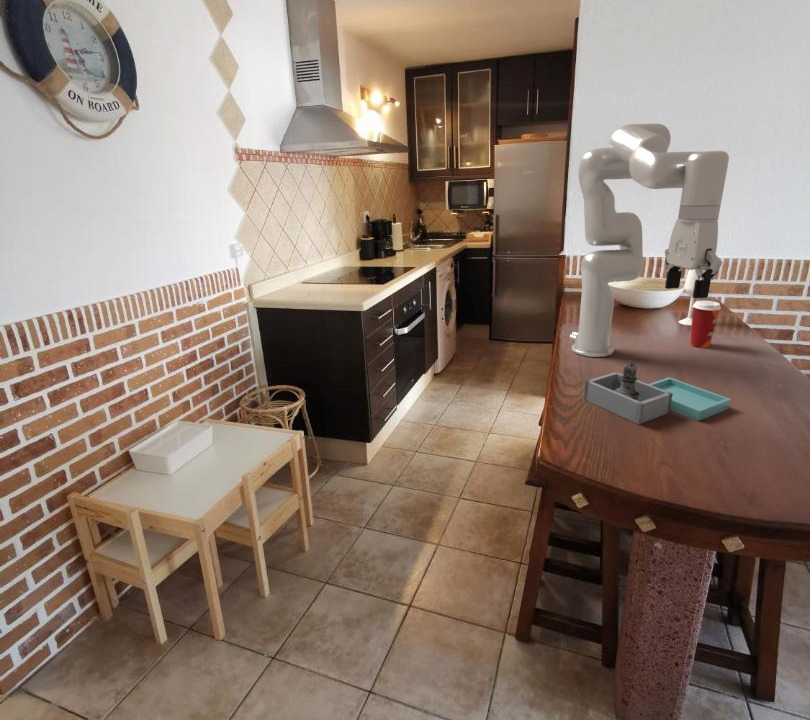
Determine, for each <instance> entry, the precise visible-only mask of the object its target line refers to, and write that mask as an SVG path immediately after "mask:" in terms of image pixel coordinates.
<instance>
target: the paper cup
mask: <svg viewBox="0 0 810 720" xmlns="http://www.w3.org/2000/svg"><path fill="white" fill-rule="evenodd" d="M721 309H722V307H721V304H720V303H719V302H718V301H713V300H696V301H694V305H693V311H692V317H691V318H692V325H691V329H690V338H689V345H690V346H691V347H693V348H699V349H707V348H708V349H709V347H711V343H712V339H713V336H714V332H715V329H716V328H715V327H716V324H717V320H718V316H719V313H720V310H721Z"/></svg>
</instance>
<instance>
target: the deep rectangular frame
mask: <svg viewBox="0 0 810 720" xmlns="http://www.w3.org/2000/svg"><path fill="white" fill-rule="evenodd" d="M621 376H623V373H621V372H617V371H614V372H611V373H608V374H604V375H601V376H597V377H594V378H591V379H588V380H585V384H584V385H585V386H584V394H583V395H584V396H583V400H584V401H586V402H589V403H591V404H593V405H595V404H596V405H595V406H598V407H600V408H602V409H604V410H606V411H608V412H611V413H612V414H615V415H617V416H619V417H621V418H623V419H626V420H628V421H629V422H633V423H634V424H635V425H640V424H644V423H645V422H648V421H651V420H654V419H656V418H657V419H658V418H659V417H662V416H664V415H668V414H670V411H671V410H670V407H671V401H672V395H673V393H670V392H667V391H665V390H662V389H660V388H657V387H654V386H652V385H649V384H650V383H647V382H644V381H641V380H638V379H637V380H636V381H635V390H637V391H638V392H639V393H640V396H639V397H638V399H637V400H634V399H632V398H630V397H627V396H625V395H623V394H620V393H618V392H615V391H614V390H615V389H617V388H620V387H621V382H622V379H621Z"/></svg>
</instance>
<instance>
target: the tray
mask: <svg viewBox="0 0 810 720" xmlns="http://www.w3.org/2000/svg"><path fill="white" fill-rule="evenodd" d="M648 384H649V385H652V386H654V387H657V388H660V389H662V390H665V391H667V392H670V393H673V395H672V401H671V407H670V411H672V412H675V413H678V414H680V415H682V416H684V417H687V418H690V419H691V420H693V421H697V422H700V421H701V420H705V419H707V418H709V417H711V416H715V415H717V414H719V413H721V412H724V411H727V410H729V409H730V407H731V406H730V405H731V402H732V399H731V398H729V397H726V396H723V395H720V394H718V393H715V392H713V391H709V390H706V389H703V388H700V387H698V386H696V385H692V384H689V383H687V382H683V381H681V380H678V379H675V378H672V377H666V378H663V379H660V380H656V381H654V382H651V383H648Z"/></svg>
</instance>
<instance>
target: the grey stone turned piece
mask: <svg viewBox="0 0 810 720" xmlns="http://www.w3.org/2000/svg"><path fill="white" fill-rule="evenodd" d="M623 365H624V366H623V371H622V374H623V376H621V379H622V382H621V387H620V388H617V389H615V390H614V391H615V392H618V393H620V394H623V395H625V396H627V397H630V398H632V399H634V400H637V399H638V397H639V396H640V393H639V392H638V391H637V390H635V381H636V380H638V378H637V370H638V367H637V365H636V364H635V363H633V360H632V359H631V360H630V361H629V363H626V364H623Z"/></svg>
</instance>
